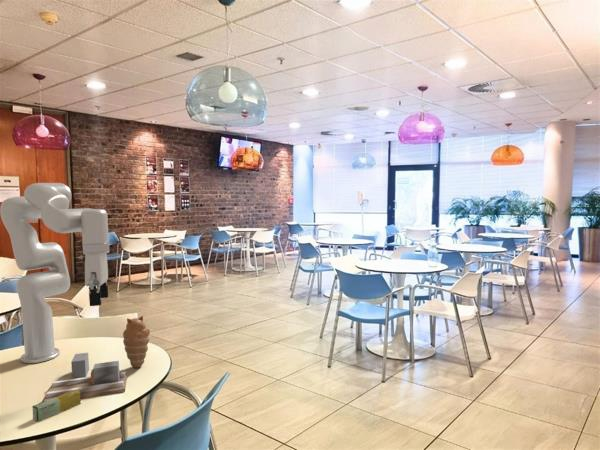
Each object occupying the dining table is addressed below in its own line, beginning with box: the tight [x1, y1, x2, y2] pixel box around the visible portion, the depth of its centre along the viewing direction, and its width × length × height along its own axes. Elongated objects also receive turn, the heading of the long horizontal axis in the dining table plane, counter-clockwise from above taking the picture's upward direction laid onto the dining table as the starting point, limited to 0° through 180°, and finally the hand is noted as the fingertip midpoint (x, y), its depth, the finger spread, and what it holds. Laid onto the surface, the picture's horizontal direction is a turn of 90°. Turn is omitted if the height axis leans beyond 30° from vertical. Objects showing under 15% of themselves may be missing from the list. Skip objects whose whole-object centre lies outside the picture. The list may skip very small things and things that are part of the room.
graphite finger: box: [71, 352, 90, 379], centre depth 145 cm, size 4×8×6 cm, turn 18°
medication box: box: [31, 390, 82, 423], centre depth 120 cm, size 12×3×4 cm, turn 144°
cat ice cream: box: [122, 315, 151, 369], centre depth 148 cm, size 9×8×18 cm
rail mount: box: [42, 360, 128, 402], centre depth 133 cm, size 22×12×7 cm, turn 108°
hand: (99, 301), depth 137 cm, fingers open, 9 cm apart
